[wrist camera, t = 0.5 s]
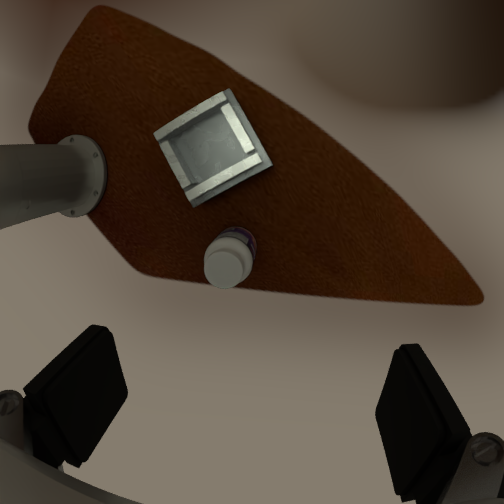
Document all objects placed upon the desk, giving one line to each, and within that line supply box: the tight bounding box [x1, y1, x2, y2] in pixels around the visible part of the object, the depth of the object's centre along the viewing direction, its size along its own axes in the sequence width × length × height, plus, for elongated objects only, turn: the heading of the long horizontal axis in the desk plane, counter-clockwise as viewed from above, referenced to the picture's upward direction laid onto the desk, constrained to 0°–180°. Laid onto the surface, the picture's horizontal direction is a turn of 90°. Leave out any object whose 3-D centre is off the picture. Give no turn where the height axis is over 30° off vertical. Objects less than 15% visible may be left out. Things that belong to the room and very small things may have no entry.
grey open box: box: [153, 88, 274, 208], centre depth 32 cm, size 10×10×8 cm
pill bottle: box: [204, 227, 257, 289], centre depth 35 cm, size 5×5×10 cm
